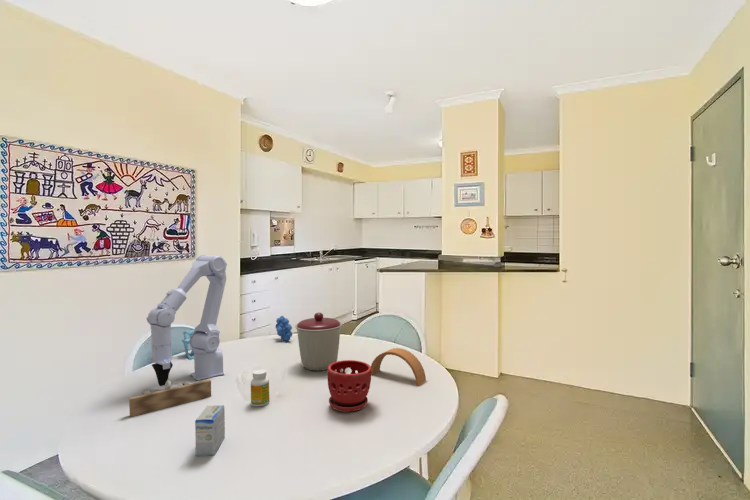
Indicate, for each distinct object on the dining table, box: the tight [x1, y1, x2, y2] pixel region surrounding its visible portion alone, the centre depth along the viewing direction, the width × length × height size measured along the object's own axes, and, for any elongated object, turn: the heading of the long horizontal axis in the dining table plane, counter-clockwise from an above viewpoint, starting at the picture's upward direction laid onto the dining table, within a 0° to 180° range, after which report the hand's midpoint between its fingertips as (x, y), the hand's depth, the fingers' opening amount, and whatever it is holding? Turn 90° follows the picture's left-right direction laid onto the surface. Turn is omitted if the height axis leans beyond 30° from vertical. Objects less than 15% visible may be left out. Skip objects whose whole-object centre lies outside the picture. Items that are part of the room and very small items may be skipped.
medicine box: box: [194, 404, 226, 457], centre depth 94 cm, size 8×4×9 cm, turn 5°
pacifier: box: [164, 379, 172, 390], centre depth 120 cm, size 7×6×6 cm
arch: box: [370, 347, 427, 387], centre depth 138 cm, size 6×20×10 cm, turn 56°
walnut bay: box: [128, 378, 212, 418], centre depth 121 cm, size 22×10×5 cm, turn 129°
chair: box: [181, 329, 194, 360], centre depth 166 cm, size 8×8×12 cm
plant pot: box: [326, 359, 372, 413], centre depth 116 cm, size 13×13×12 cm
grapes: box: [275, 315, 293, 342], centre depth 187 cm, size 12×7×12 cm, turn 51°
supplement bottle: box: [250, 369, 270, 407], centre depth 118 cm, size 5×5×10 cm
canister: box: [294, 312, 343, 371], centre depth 151 cm, size 18×18×21 cm
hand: (162, 384), depth 129 cm, fingers closed
